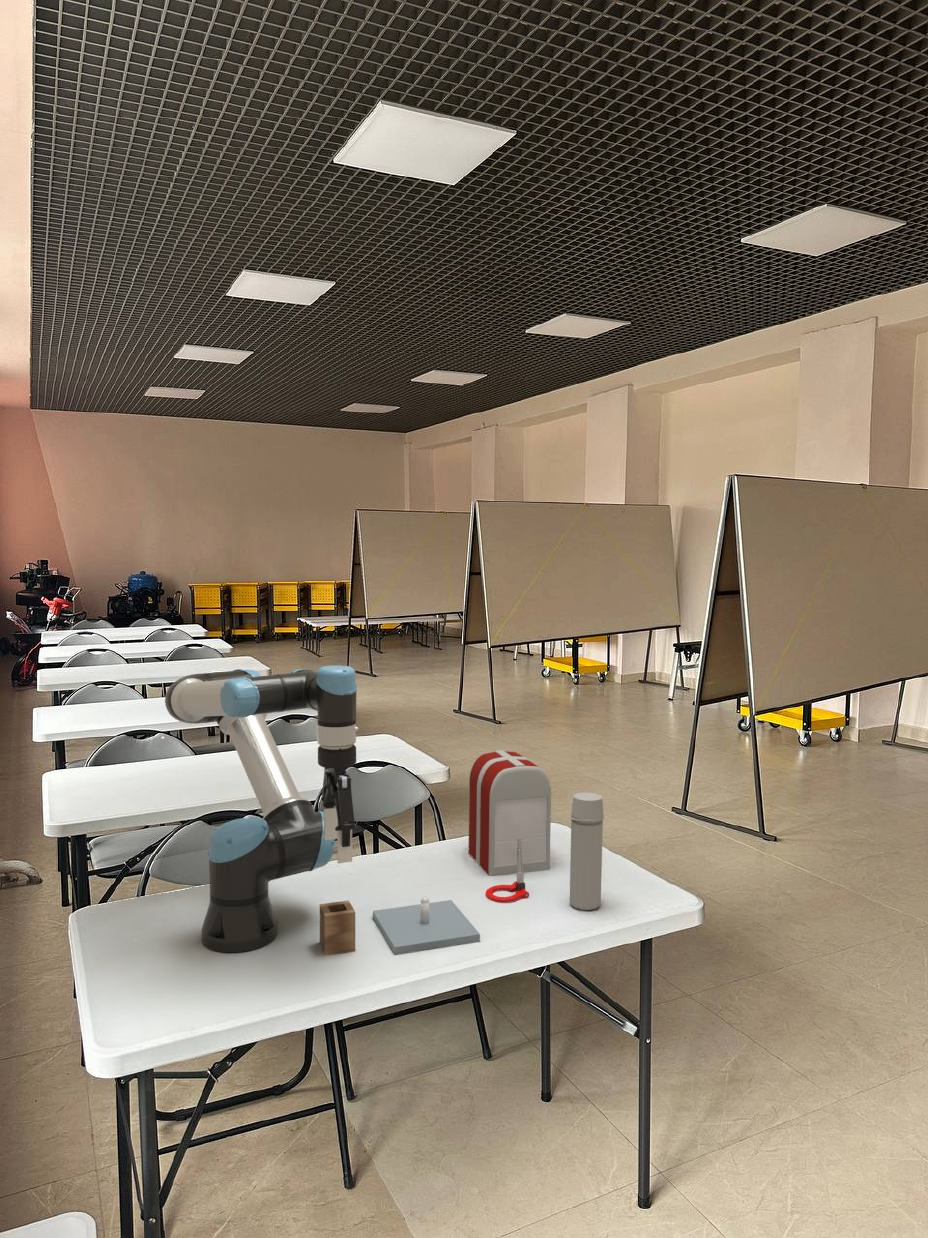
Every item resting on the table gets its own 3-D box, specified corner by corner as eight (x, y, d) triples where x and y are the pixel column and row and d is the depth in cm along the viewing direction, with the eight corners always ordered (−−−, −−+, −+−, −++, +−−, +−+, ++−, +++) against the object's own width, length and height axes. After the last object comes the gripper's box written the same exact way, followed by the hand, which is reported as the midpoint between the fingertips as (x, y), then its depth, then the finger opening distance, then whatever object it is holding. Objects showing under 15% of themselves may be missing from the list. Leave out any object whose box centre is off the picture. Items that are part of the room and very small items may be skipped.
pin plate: (394, 954, 173) (394, 921, 172) (372, 917, 190) (372, 886, 189) (479, 941, 179) (480, 908, 178) (451, 906, 196) (451, 876, 195)
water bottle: (607, 911, 194) (609, 800, 192) (572, 913, 193) (575, 802, 191) (594, 894, 203) (596, 789, 201) (561, 896, 202) (563, 790, 200)
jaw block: (325, 955, 172) (325, 916, 171) (319, 942, 178) (319, 904, 177) (355, 951, 174) (355, 912, 173) (348, 938, 180) (348, 900, 179)
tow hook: (494, 907, 197) (531, 899, 200) (492, 851, 195) (529, 844, 199) (480, 893, 205) (516, 886, 208) (478, 839, 203) (514, 833, 207)
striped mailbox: (525, 846, 235) (527, 747, 233) (551, 869, 218) (553, 763, 216) (466, 852, 230) (467, 751, 228) (488, 877, 213) (490, 768, 211)
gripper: (370, 758, 162) (371, 869, 164) (342, 730, 185) (343, 828, 187) (330, 761, 159) (331, 874, 161) (307, 733, 183) (307, 832, 184)
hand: (337, 850), depth 174 cm, fingers open, 13 cm apart
